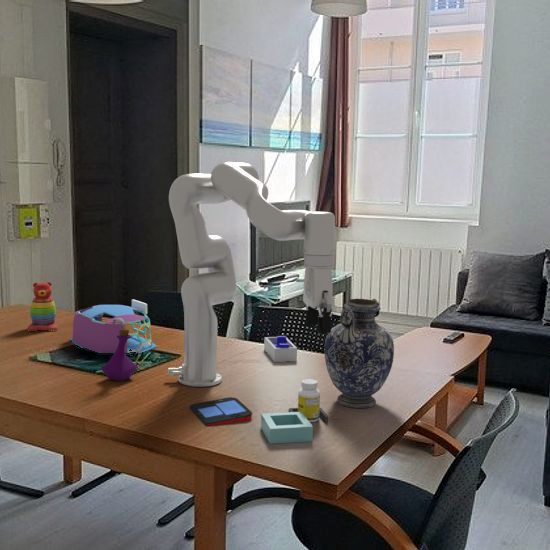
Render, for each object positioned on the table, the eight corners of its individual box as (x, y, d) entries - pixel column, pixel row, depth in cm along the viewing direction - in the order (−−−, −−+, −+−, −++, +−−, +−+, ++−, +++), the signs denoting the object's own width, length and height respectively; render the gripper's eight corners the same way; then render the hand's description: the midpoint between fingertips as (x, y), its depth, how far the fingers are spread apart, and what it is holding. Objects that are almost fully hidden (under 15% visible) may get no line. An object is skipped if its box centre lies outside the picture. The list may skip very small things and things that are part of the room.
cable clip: (272, 352, 234) (272, 335, 233) (285, 352, 234) (285, 336, 233) (274, 362, 222) (275, 344, 221) (288, 362, 222) (288, 344, 221)
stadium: (60, 338, 244) (59, 299, 242) (121, 330, 259) (121, 293, 257) (102, 360, 217) (102, 317, 215) (168, 350, 232) (168, 309, 230)
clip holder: (274, 362, 221) (274, 348, 220) (264, 349, 236) (264, 337, 235) (296, 361, 222) (297, 347, 222) (285, 349, 237) (285, 336, 237)
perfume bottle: (137, 377, 200) (137, 317, 197) (122, 384, 193) (121, 322, 190) (117, 373, 203) (117, 314, 200) (101, 380, 196) (100, 319, 193)
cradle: (294, 424, 166) (295, 418, 166) (287, 413, 173) (287, 408, 173) (328, 422, 168) (328, 416, 168) (319, 412, 175) (320, 406, 175)
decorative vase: (341, 385, 198) (347, 291, 193) (402, 398, 188) (409, 299, 184) (307, 405, 179) (312, 302, 175) (372, 421, 170) (379, 312, 166)
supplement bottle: (296, 415, 172) (297, 378, 171) (317, 415, 173) (319, 378, 171) (298, 422, 167) (300, 384, 165) (320, 423, 167) (322, 384, 166)
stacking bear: (26, 332, 251) (25, 284, 248) (30, 326, 261) (29, 280, 258) (56, 331, 253) (55, 284, 251) (59, 325, 263) (58, 280, 260)
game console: (188, 409, 176) (188, 400, 175) (234, 403, 181) (235, 395, 180) (205, 428, 163) (206, 419, 162) (255, 422, 168) (255, 413, 167)
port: (269, 443, 153) (270, 428, 153) (260, 427, 163) (261, 413, 162) (312, 441, 155) (312, 426, 155) (300, 425, 165) (301, 411, 165)
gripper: (294, 258, 176) (294, 322, 178) (315, 265, 159) (314, 336, 162) (322, 257, 178) (321, 321, 180) (345, 265, 161) (344, 335, 163)
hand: (318, 328), depth 171 cm, fingers open, 9 cm apart
